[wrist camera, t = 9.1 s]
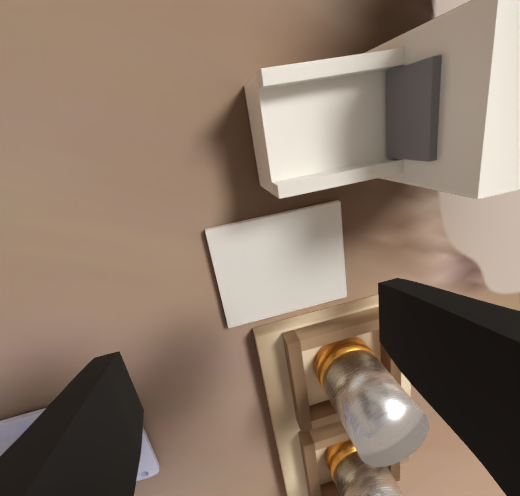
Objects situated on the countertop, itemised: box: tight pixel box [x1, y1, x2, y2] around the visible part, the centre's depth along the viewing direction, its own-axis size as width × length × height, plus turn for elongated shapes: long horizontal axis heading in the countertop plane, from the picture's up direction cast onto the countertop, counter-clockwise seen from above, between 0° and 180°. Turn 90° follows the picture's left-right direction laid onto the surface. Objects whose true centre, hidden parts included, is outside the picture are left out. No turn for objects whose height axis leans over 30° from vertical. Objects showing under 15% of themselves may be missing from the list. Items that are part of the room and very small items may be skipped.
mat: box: [205, 200, 347, 328], centre depth 19 cm, size 8×6×1 cm
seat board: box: [253, 295, 411, 496], centre depth 23 cm, size 11×17×2 cm, turn 9°
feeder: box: [244, 0, 520, 199], centre depth 13 cm, size 11×6×8 cm, turn 99°
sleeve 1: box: [313, 336, 429, 467], centre depth 18 cm, size 4×4×6 cm
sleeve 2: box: [324, 439, 404, 496], centre depth 22 cm, size 4×4×6 cm
